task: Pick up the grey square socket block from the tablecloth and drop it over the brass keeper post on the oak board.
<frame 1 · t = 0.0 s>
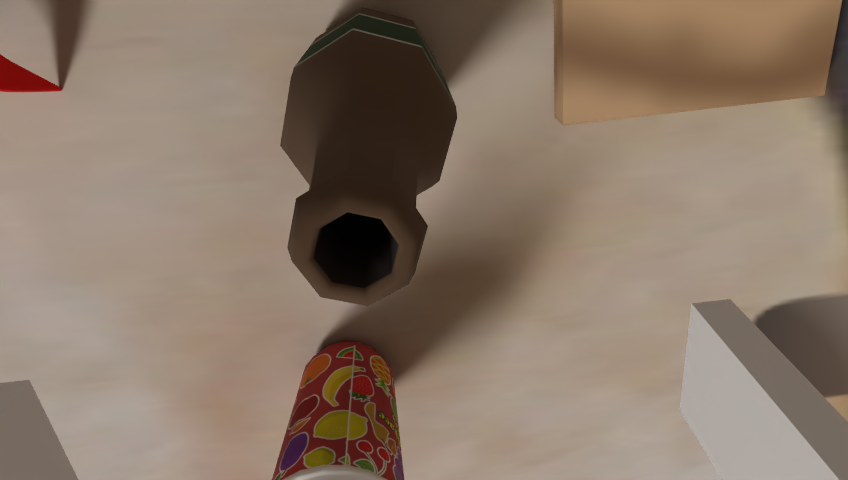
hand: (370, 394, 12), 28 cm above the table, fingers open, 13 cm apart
beer bottle: (374, 72, 37), on the table
smoothie: (349, 368, 47), on the table
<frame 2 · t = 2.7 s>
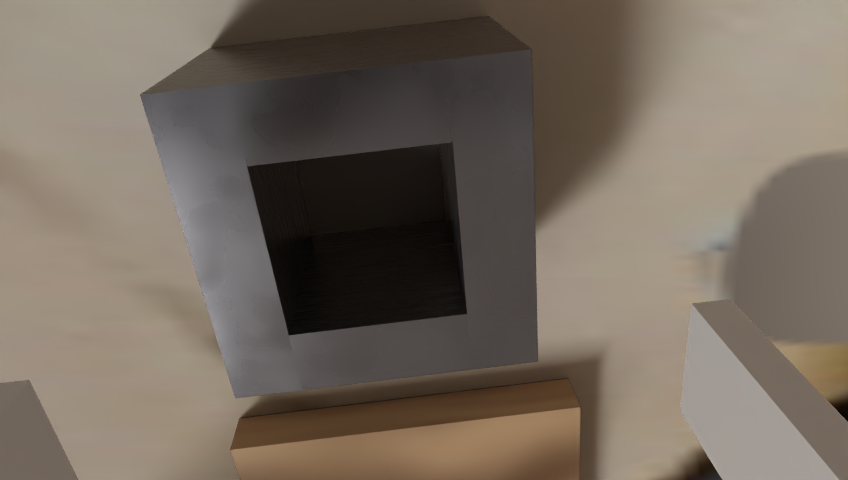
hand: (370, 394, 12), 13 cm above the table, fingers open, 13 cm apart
grey square socket block: (369, 164, 24), on the table
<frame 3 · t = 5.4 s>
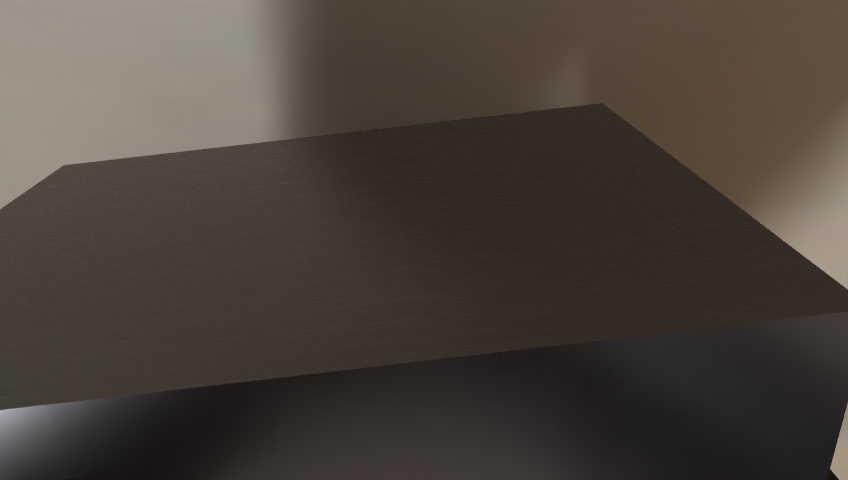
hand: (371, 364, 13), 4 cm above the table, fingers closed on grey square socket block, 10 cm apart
grey square socket block: (371, 353, 13), point 4 cm above the table, touching gripper
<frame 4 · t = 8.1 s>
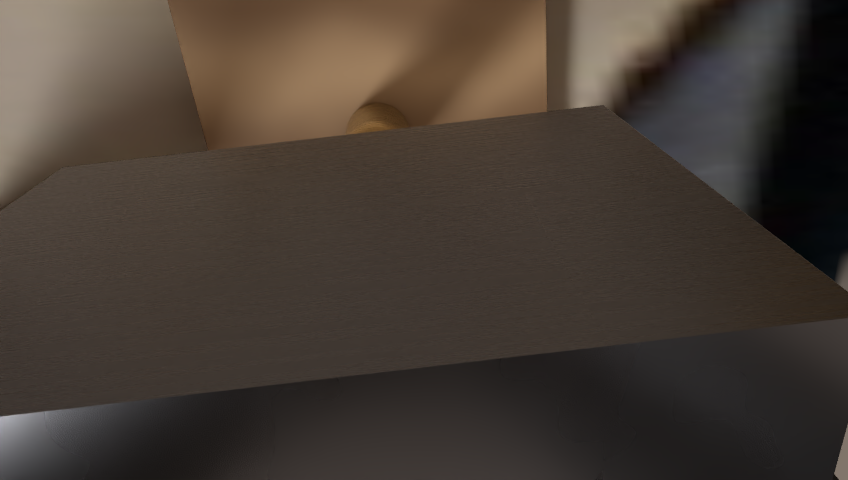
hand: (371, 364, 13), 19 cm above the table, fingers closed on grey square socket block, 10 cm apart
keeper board: (378, 122, 30), on the table
grey square socket block: (371, 355, 13), point 19 cm above the table, touching gripper
keeper post: (378, 134, 29), resting on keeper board
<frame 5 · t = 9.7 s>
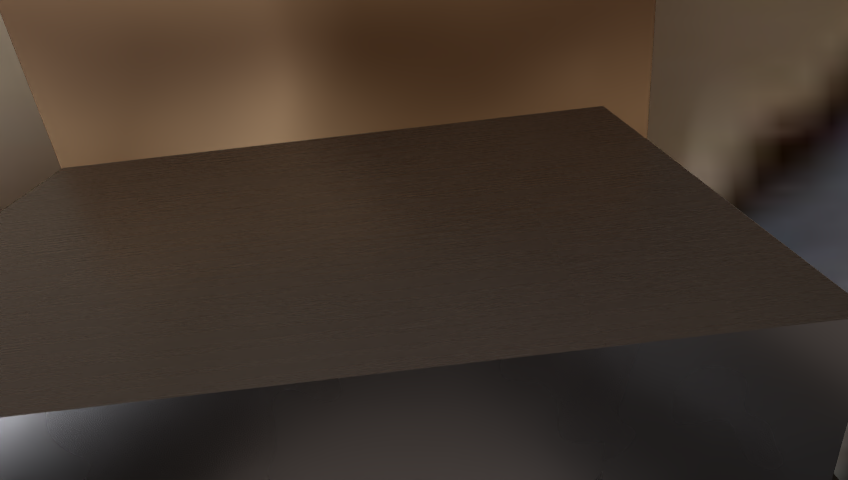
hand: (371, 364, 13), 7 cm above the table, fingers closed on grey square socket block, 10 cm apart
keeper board: (374, 220, 20), on the table
grey square socket block: (371, 355, 13), point 7 cm above the table, touching gripper
when the fingers open (5 cm above the table, at t = 10.8 s): grey square socket block drops 2 cm, resting on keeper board.
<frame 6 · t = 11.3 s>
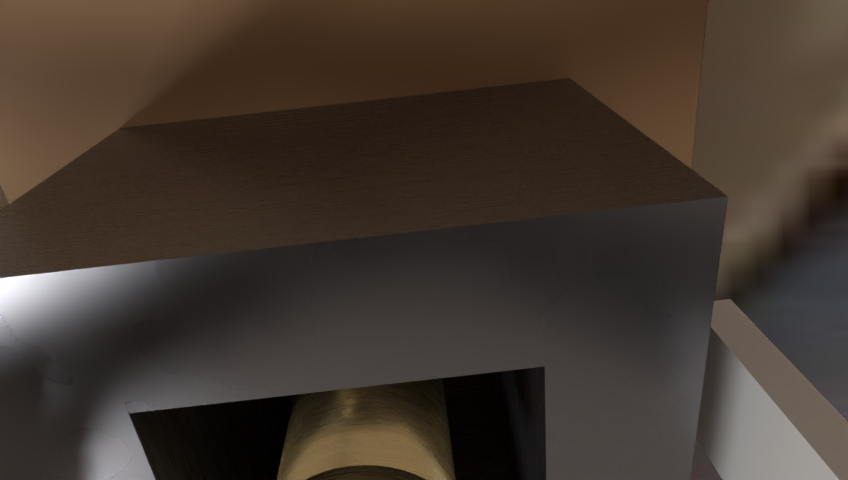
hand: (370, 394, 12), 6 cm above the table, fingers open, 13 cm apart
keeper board: (375, 262, 17), on the table
grey square socket block: (375, 295, 16), point 2 cm above the table, touching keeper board
keeper post: (374, 298, 16), resting on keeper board
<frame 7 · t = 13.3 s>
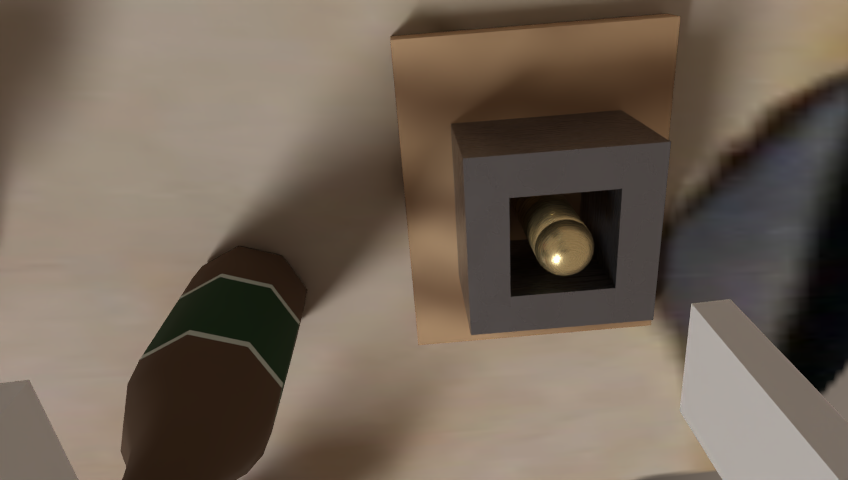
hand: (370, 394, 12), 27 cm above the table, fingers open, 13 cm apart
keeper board: (528, 187, 39), on the table
grey square socket block: (535, 197, 38), point 2 cm above the table, touching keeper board
beer bottle: (253, 291, 42), on the table
keeper post: (535, 198, 38), resting on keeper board
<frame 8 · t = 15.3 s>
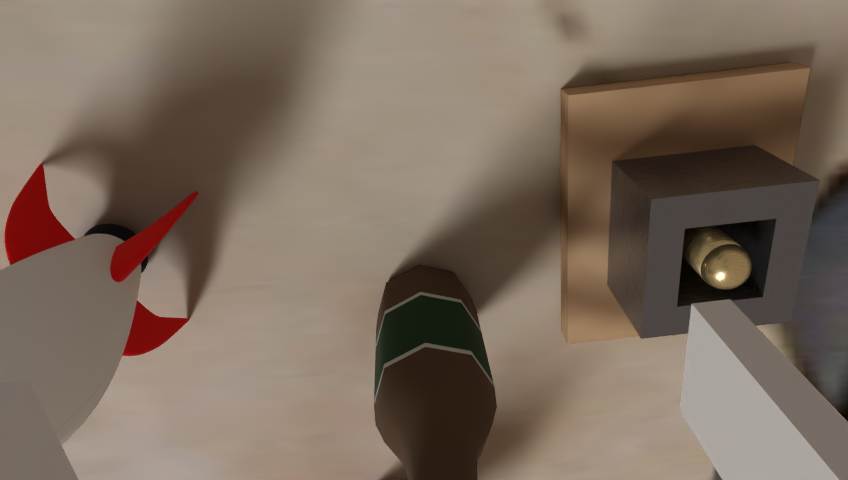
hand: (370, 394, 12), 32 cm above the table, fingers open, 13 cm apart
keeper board: (665, 208, 46), on the table
grey square socket block: (677, 218, 44), point 2 cm above the table, touching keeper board
beer bottle: (424, 302, 49), on the table
keeper post: (676, 219, 44), resting on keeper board
rocket: (121, 245, 45), on the table
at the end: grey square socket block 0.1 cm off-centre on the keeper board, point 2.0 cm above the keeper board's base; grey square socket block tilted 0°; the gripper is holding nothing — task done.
